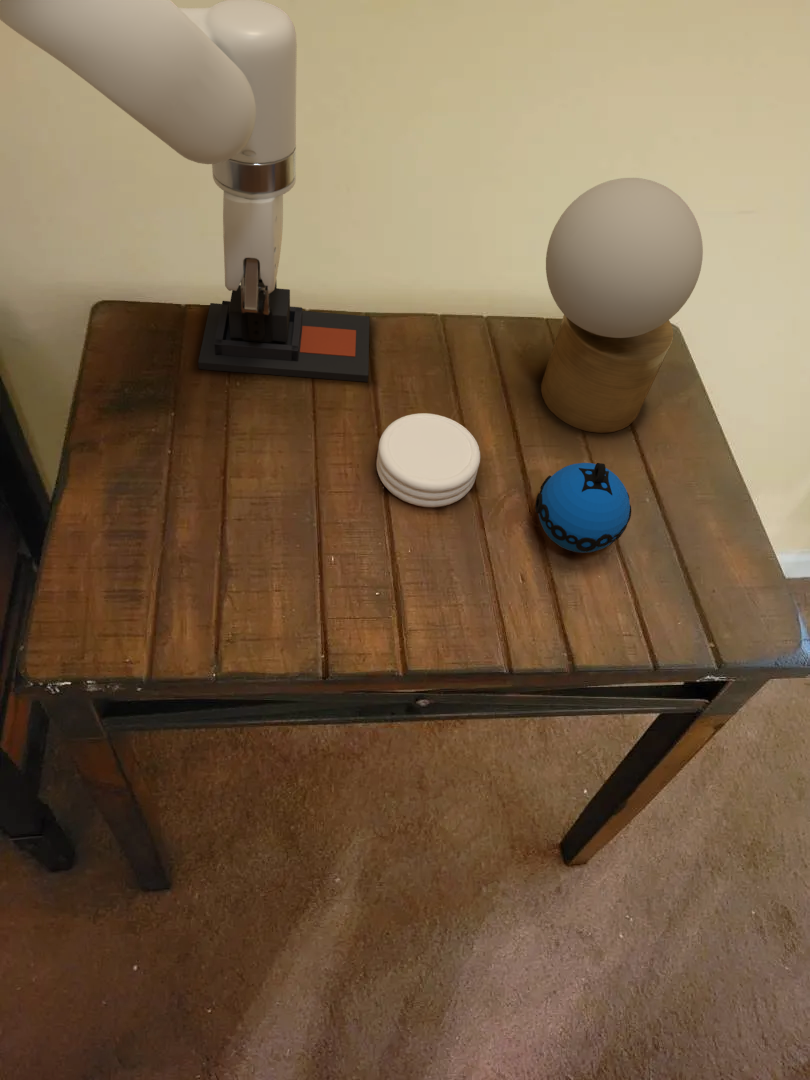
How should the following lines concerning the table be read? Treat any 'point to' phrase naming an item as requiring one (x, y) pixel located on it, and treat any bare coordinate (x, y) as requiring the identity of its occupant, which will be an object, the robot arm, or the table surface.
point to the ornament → (583, 507)
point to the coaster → (427, 460)
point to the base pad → (291, 347)
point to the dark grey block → (277, 304)
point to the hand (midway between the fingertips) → (259, 322)
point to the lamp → (616, 298)
